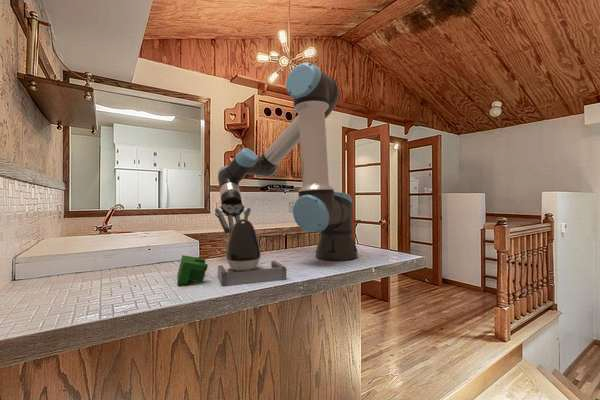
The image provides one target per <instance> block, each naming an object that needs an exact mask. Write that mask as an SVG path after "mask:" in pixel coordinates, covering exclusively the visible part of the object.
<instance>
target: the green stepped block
mask: <svg viewBox="0 0 600 400" xmlns="http://www.w3.org/2000/svg"><path fill="white" fill-rule="evenodd" d="M208 267H209V265H208V263H206V259H205V258H202V257H196V256H195V257H194V256H190V255H182V256H181V259H180V263H179V268H178V271H177V276H176V278H177V280H176V281H177V285H184V286H187V285H188V282H189V281H196V282H202V283H203V282H204V278H205V275H206V272H207V270H208Z"/></svg>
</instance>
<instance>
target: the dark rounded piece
mask: <svg viewBox="0 0 600 400" xmlns="http://www.w3.org/2000/svg"><path fill="white" fill-rule="evenodd" d="M261 257H262V256H261V248H260V242H259V238H258V235H257V232H256V229H255V226H254V225H253V223H252V222H251V221H250V220H249V219H248V220H246V219H244V218H242V219H241V218H240V220H239V221H237V222H236V221H235V223H234V226H233V228H232V231H231V234H230V233H229V238H228V241H227V247H226V255H225V259H226V260H227V263H228V266H229V268H230V269H232V270H233V271H245V270H255V268H256V267H257V266H258V265H259V262H260V259H261Z"/></svg>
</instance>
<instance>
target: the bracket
mask: <svg viewBox="0 0 600 400" xmlns="http://www.w3.org/2000/svg"><path fill="white" fill-rule="evenodd" d="M270 263H271V265H270V266H271V267H270V268H269V267H268V268H257V269H252V270H245V271H236V270H233V271H226V269H225V268H224V266H223V265H221V264H220V265H217V277H218V280H219V282H220V284H221V286H222V287H225V286H226V287H227V286H236V285H245V284H254V283H256V284H257V283H262V282H263V283H264V282H273V281H282V280H283V281H285V280H287V267H286V266H284V265H283V264H281V263H280V262H278V261H277V260H271V261H270Z"/></svg>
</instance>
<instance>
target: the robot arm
mask: <svg viewBox="0 0 600 400" xmlns="http://www.w3.org/2000/svg"><path fill="white" fill-rule="evenodd" d="M285 88H286V89H285V90H286V92H287V94H289V96H290V97H291V98H293V110H294V111H295V112H296V113H297V115H296V116H295V118H293V120H292V121H291V122H290V123H289V125H288V126H287V127H286V128H284V130H283V131H282V132H281V133H280V134H279V136H278V137H277V138H276V139H275V140H274V141H273V142H272V144H271V145H270V146H269V147H268V148H267V149H266V150H265V151H264V152H263V153H262V154H261V156H258V154H256V152H254V151H253V150H252V149H250V148H249V147H243V148H241V149H240V150H239V151H238V153H237V154H236V155H235V156H234V157H233V159H231V161H230V162H229V164H228V165H224V166H222V167H220V168H219V170H218V172H217V181H218V186H219V195H220V196H219V197H220V204H221V206H220V208H215V210H214V215H215V216H216V218H218V221H219V223H220V226H221V227H222V229H223V231H224V233H225V234H229V235H230V234H231V231H232V228H233V226H234V225H235V223H236V222H237V221H239V220H241V214H242V213H243V215H244V217H243V219H246V220H248V221H249V216H250V214H251V208H250V207H247V208H245V205H244V204H243V201H242V196H241V190H240V185H239V183H240V182H241V181H242V180H243V179H244V178H245V177H246V175H253V176H262V177H272V176H275V175H276V173H277V171H278V165H279V164H280V163H281V162H282V161H283V160H284V159H285V157H286V156H287V155H288V154H289V153H290V152H291V151H292V150H293V149H294V148H295V147H296V146H297V145H298V144H299V143H300V144H299V145H300V158H301V161H300V162H301V177H302V178H301V179H302V180H301V181H302V186H301V187H300V188H299V190H298V193H297V194H298V198H297V199H296V201H295V202H294V204H293V207H292V215H293V219H294V221H295V223H296V224H297V226H298V227H299V228H300V229H302V230H303V231H305V232H308V233H320V234H319V240H318V243H317V246H316V248H315V258H317V259H320V260H325V261H350V260H349V259H352V260H355V259H354V258H356V259H357V258H359V257H358V255H359V254H358V248H357V245H356V243H355V239H354V237H353V205H354V204H353V198H352V196H351V194H349V193H345V192H339V191H334V190H335V189H334V187H332V186H331V185H330V183H329V182H330V181H329V166H328V165H329V164H328V149H327V148H328V147H327V133H326V132H327V130H326V119H327V118H328V117H329V116H330V114H331V113H332V112H333V111H334V109H335V108H336V106H337V104H338V101H339V98H340V90H339V86H338V83H337V81H336V80H335V79H334V78H333V77H331V76H330V75H329V74H327V73H326V72H324V70H322V69H321V68H320V67H319V66H318V65H315V64H313V63H311V62H302V63H299V64H298V65H296V66H294V67H293V69H292V70H291V72H290V73H289V74H288V76H287V79H286V83H285ZM224 215H225V216H226V217H227V220H228V223H227V220H226V218H225V216H224ZM234 219H235V223H234Z"/></svg>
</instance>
